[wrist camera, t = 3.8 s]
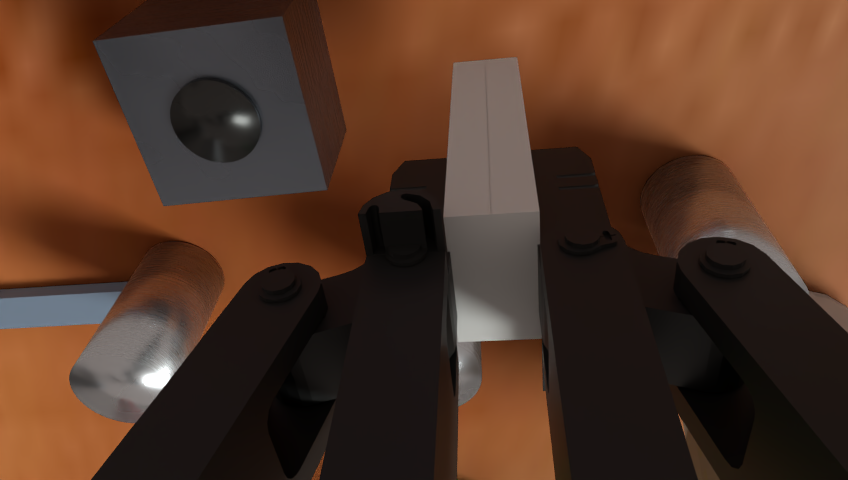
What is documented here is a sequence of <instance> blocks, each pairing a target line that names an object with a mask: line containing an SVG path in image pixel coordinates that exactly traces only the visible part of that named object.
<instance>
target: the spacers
mask: <svg viewBox="0 0 848 480" xmlns="http://www.w3.org/2000/svg"><path fill="white" fill-rule="evenodd" d="M640 206H641V211H642V214H643V216H644V219H645V221H646V224H647V226H648V229H649V231H650V234H651V237H652V239H653V242H654V244H655V247H656V249H657V252H658V254H659V256H663V257H670V258H676V259H677V258H678V254H679V251H680V250H681V249H682V248H683V247H684V246H685V245H686V244H687V243H689V242H692V241H695V240H697V239H700V238H708V237H725V238H732V239H738V240H741V241H743V242H746V243H749V244H752V245H754V246H755V247H757V248H758V249H760V250H761V251H763V252H764V253H766V254H767V255H768V256H769V257H770V258H771V259H772V260H773V261H774V262H775V263H776V264H777V265H778V266H779V267H780V268H781V269H782V270H783V271H784V272H785V273H787V274H788V275H789V276H790V277H791V278H792V279H793V280H794V281H795V282H796V283H797V284H798V285H799V286H800V287H801V288H802V289H803V290H804V291H805V292H806V293H807V294H808V295H809V291H808V289H807V286H806V285H805V283H804V282H803V280H802V279H801V277H800V276H799V274H798V273H797V271H796V270H795V268H794V266H793V265H792V263H791V262H790V260H789V259H788V257H787V256H786V254H785V253H784V251H783V250H782V248H781V247H780V245H779V244H778V242H777V240H776V239H775V237H774V236H773V234H772V233H771V231H770V230H769V228H768V227H767V225H766V224H765V222H764V221H763V219H762V217H761V216H760V214H759V213H758V211H757V210H756V208H755V207H754V205H753V204H752V202H751V201H750V199H749V198H748V196H747V195H746V193H745V191H744V190H743V188H742V187H741V185H740V184H739V182H738V181H737V179H736V178H735V176H734V175H733V173H732V172H731V170H730V169H729V168H728V167H727V166H726V165H725V164H724V163H723V162H721V161H719V160H717V159H715V158H712V157H708V156H700V155H698V156H686V157H682V158H679V159H676V160H673V161H671V162H669V163H667V164H665V165H664V166H662V167H661V168H659V169H658V170H657V171H656V172H655V173H654V174H653V175H652V176H651V177H650V178H649V179H648V181H647V182H646V184H645V186H644V188H643V190H642V193H641V198H640ZM223 287H224V274H223V271H222V269H221V267H220V265H219V264H218V262H217V261H216V260H215V259H214V258H213V257H212V256H211V255H210V254H209V253H207V252H206V251H204V250H203V249H201V248H199V247H197V246H195V245H192V244H189V243H185V242H179V241H168V242H163V243H160V244H157V245H155V246H153V247H152V248H151V249H150V250H149V251H148V252H147V253H146V255H145V256H144V258H143V259H142V261H141V262H140V264H139V265H138V267H137V269H136V270H135V272H134V273H133V275H132V276H131V278H130V279H129V281H128V282H127V284H126V286H125V287H124V289H123V290H122V292H121V293H120V295H119V296H118V298H117V300H116V301H115V303H114V304H113V306H112V307H111V309H110V310H109V312H108V314H107V315H106V317H105V318H104V320H103V321H102V323H101V324H100V326H99V327H98V329H97V331H96V332H95V334H94V335H93V337H92V338H91V340H90V341H89V343H88V345H87V346H86V348H85V349H84V351H83V352H82V354H81V355H80V357H79V359H78V360H77V362H76V363H75V365H74V366H73V368H72V370H71V372H70V377H69V380H70V385H71V388H72V390H73V392H74V394H75V395H76V396H77V398H78V399H79V400H80V401H81V402H82V403H83V404H84V405H86V406H87V407H88V408H90V409H91V410H93V411H94V412H96V413H98V414H100V415H102V416H105V417H107V418H110V419H113V420H117V421H121V422H128V423H136V422H137V420H138V419H139V418H140V417H141V415H142V414H143V413H144V412H145V410H146V409H147V408H148V406H149V405H150V404H151V403H152V401H153V400H154V399H155V397H156V396H157V395H158V394H159V392H160V391H161V390H162V389H163V387H164V386H165V385H166V383H167V382H168V381H169V380H170V378H171V377H172V376H173V375H174V373H175V372H176V371H177V369H178V368H179V367H180V366H181V364H182V363H183V362H184V360H185V359H186V358H187V357H188V355H189V354H190V353H191V352H192V350H193V349H194V348H195V346H196V345H197V344H198V342H199V340H200V338H201V336H202V334H203V331H204V329H205V327H206V325H207V323H208V321H209V318H210V316H211V314H212V312H213V310H214V307H215V305H216V303H217V301H218V299H219V296H220V294H221V292H222V290H223ZM809 296H810V295H809ZM457 350H458V359H459V396H458V406H460V405H462V404H464V403H466V402H467V401H469V400H470V399H471V398H472V397H473V396H474V395H475V394H476V393H477V391H478V389H479V387H480V385H481V381H482V366H481V341H473V342H458V337H457Z"/></svg>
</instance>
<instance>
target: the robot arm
mask: <svg viewBox="0 0 848 480" xmlns="http://www.w3.org/2000/svg"><path fill="white" fill-rule="evenodd" d="M358 217H359V222H360V227H361V231H362V236H363V241H364V246H365V251H366V260H365V264H363V265H362V266H360V267H358V268H356V269H354V270H352V271H349V272H346V273H344V274H341V275H337V276H333V277H330V278H326V279H322V280H321V279H320V275H319V272H317V271H316V270H315V269H314V268H313V267H311V266H309V265H305V264H301V263H283V264H279V265H275V266H271V267H268V268H266V269H264V270H262V271H260V272H258V273H256V274H255V275H254V276H252V277H251V278H250V279H249V280H248V281H247V282H246V283H245V284H244V285H243V286H242V288H241V289H240V290H239V291H238V293H237V294H236V295H235V297H234V298H233V299H232V300H231V302H230V303H229V304H228V306H227V307H226V308H225V309H224V311H223V312H222V313H221V314H220V316H219V317H218V318H217V320H216V321H215V322H214V323H213V325H212V326H211V327H210V329H209V330H208V331H207V332H206V334H205V335H204V336H203V337H202V339H201V340H200V341H199V343H198V344H197V345H196V346H195V348H194V349H193V350H192V352H191V353H190V354H189V355H188V357H187V358H186V359H185V360H184V362H183V363H182V364H181V366H180V367H179V368H178V369H177V371H176V372H175V373H174V375H173V376H172V377H171V378H170V380H169V381H168V382H167V383H166V385H165V386H164V387H163V389H162V390H161V391H160V392H159V394H158V395H157V396H156V397H155V399H154V400H153V401H152V403H151V404H150V405H149V406H148V408H147V409H146V410H145V412H144V413H143V414H142V415H141V417H140V418H139V419H138V420H137V422H136V423H135V424H134V426H133V427H132V428H131V429H130V431H129V432H128V433H127V435H126V436H125V437H124V438H123V440H122V441H121V442H120V443H119V445H118V446H117V447H116V449H115V450H114V451H113V452H112V454H111V455H110V456H109V458H108V459H107V460H106V461H105V463H104V464H103V465H102V466H101V468H100V469H99V470H98V472H97V473H96V474H95V475H94V477H93V478H92V479H91V480H311V479H312V477H313V475H314V473H315V471H316V469H317V467H318V465H319V463H320V460H321V458H322V456H323V454H324V452H325V455H324V460H323V465H322V470H321V475H320V479H319V480H457V447H458V396H459V359H458V350H457V337H458V342H473V341H498V340H522V339H542V367H543V391H546V398H547V407H548V416H549V425H550V434H551V443H552V452H553V461H554V470H555V479H556V480H698V478H697V474H696V471H695V468H694V465H693V461H692V458H691V455H690V452H689V448H688V445H687V442H686V439H685V435H684V432H683V429H682V426H681V422H680V419H679V416H680V417H681V419H682V420H683V422H684V424H685V425H686V427H687V428H688V430H689V432H690V433H691V435H692V436H693V438H694V439H695V441H696V443H697V444H698V446H699V447H700V449H701V451H702V452H703V454H704V455H705V457H706V458H707V460H708V462H709V463H710V465H711V466H712V468H713V470H714V471H715V473H716V474H717V476H718V477H719V479H720V480H848V332H847V331H845V330H844V329H843V328H842V327H841V326H840V325H839V324H838V323H837V322H836V321H835V320H834V319H833V318H832V317H831V316H830V315H829V314H828V313H827V312H826V311H825V310H824V309H823V308H822V307H821V306H820V305H819V304H818V303H817V302H815V301H814V300H813V299H812V298H811V297H810V296H809V295H808V294H807V293H806V292H805V291H804V290H803V289H802V288H801V287H800V286H799V285H798V284H797V283H796V282H795V281H794V280H793V279H792V278H791V277H790V276H789V275H788V274H787V273H785V272H784V271H783V270H782V269H781V268H780V267H779V266H778V265H777V264H776V263H775V262H774V261H773V260H772V259H771V258H770V257H769V256H768V255H767V254H766V253H764V252H763V251H761V250H760V249H758V248H757V247H755V246H754V245H752V244H749V243H746V242H743V241H741V240H738V239H732V238H725V237H708V238H700V239H697V240H695V241H692V242H689V243H687V244H686V245H685V246H684V247H683V248H682V249H681V250H680V251H679V254H678V258H677V259H676V258H670V257H663V256H656V255H651V254H647V253H642V252H640V251H637V250H635V249H632V248H630V247H628V246H627V245H626V244H625V240H624V239H623V237H622V236H621V234H620V233H619V231H617V230H615V229H614V228H612V227H611V225H610V222H609V219H608V215H607V212H606V208H605V205H604V202H603V198H602V195H601V191H600V188H599V186H598V181H597V178H596V176H595V171H594V167H593V164H592V160H591V158H590V157H588V156H587V155H586V154H585V153H584V152H582V151H581V150H580V149H579V148H578V147H568V148H554V149H540V150H531V149H530V142H529V135H528V129H527V122H526V115H525V108H524V101H523V94H522V87H521V80H520V74H519V67H518V60H517V57H512V58H501V59H490V60H478V61H467V62H456V63H453V77H452V92H451V107H450V123H449V138H448V153H447V158H441V159H428V160H414V161H405V162H404V163H403V164H402V165H401V166H400V167H399V168H398V169H397V170H396V171H395V172H394V174H393V175H392V180H391V186H390V191H389V192H387V193H384V194H382V195H379V196H376V197H374V198H372V199H371V200H370V201H368V202H367V203H366V204H364V205H363V206H362V208H361V210H360V212H359V213H358ZM678 414H679V416H678ZM325 450H326V451H325Z"/></svg>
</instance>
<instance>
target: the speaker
mask: <svg viewBox="0 0 848 480" xmlns="http://www.w3.org/2000/svg"><path fill="white" fill-rule="evenodd" d="M93 43H94V45H95V48H96V50H97V52H98V55H99V57H100V59H101V62H102V64H103V66H104V69H105V71H106V73H107V76H108V78H109V80H110V83H111V85H112V87H113V90H114V92H115V94H116V96H117V99H118V101H119V103H120V106H121V108H122V110H123V113H124V115H125V117H126V120H127V122H128V124H129V127H130V129H131V131H132V134H133V136H134V138H135V141H136V143H137V145H138V148H139V150H140V152H141V155H142V157H143V159H144V161H145V164H146V166H147V168H148V171H149V173H150V175H151V178H152V180H153V182H154V185H155V187H156V189H157V192H158V194H159V196H160V199H161V201H162V203H163V206H170V205H180V204H190V203H200V202H210V201H220V200H231V199H241V198H251V197H261V196H271V195H281V194H292V193H302V192H312V191H322V190H328V186H329V183H330V180H331V177H332V174H333V171H334V168H335V164H336V161H337V158H338V155H339V152H340V149H341V146H342V142H343V139H344V136H345V133H346V126H345V122H344V117H343V113H342V108H341V104H340V100H339V95H338V91H337V87H336V82H335V78H334V73H333V69H332V65H331V60H330V56H329V52H328V47H327V43H326V38H325V34H324V30H323V25H322V21H321V17H320V12H319V8H318V3H317V0H147V1H146V2H144V3H143V4H142V5H140V6H139V7H138V8H136V9H135V10H134V11H132V12H131V13H130V14H128V15H127V16H125V17H124V18H123V19H121V20H120V21H119V22H117V23H116V24H115V25H113V26H112V27H111V28H109V29H108V30H107V31H105V32H104V33H103V34H101V35H100V36H99V37H97V38H96V39H95V40H93Z"/></svg>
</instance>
